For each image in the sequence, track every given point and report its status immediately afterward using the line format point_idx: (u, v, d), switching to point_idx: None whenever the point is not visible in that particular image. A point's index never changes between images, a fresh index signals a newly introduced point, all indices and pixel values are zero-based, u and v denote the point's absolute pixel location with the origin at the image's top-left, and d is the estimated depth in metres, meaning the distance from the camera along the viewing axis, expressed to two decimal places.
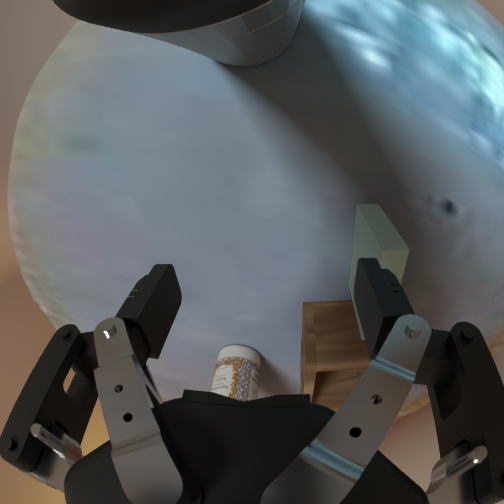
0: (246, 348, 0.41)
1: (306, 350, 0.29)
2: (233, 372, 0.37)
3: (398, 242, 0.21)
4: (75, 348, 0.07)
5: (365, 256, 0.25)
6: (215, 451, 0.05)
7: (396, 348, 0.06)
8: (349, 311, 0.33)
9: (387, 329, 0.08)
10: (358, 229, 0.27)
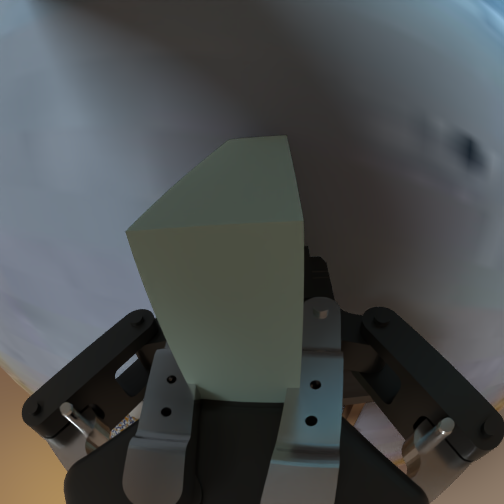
0: None
1: None
2: None
3: (258, 193, 0.04)
4: (151, 334, 0.08)
5: None
6: (215, 451, 0.05)
7: (311, 332, 0.07)
8: None
9: None
10: None
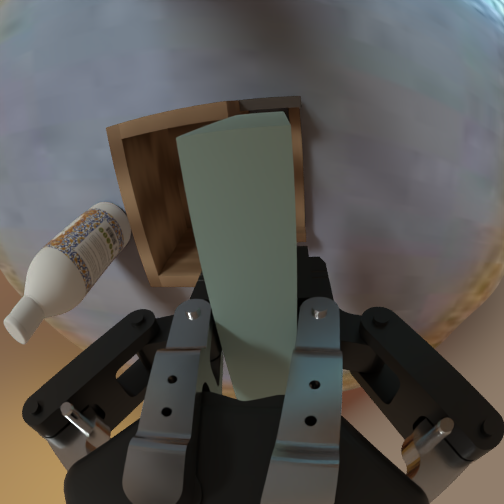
0: (110, 203, 0.30)
1: None
2: (80, 219, 0.26)
3: (262, 123, 0.06)
4: (153, 334, 0.08)
5: None
6: (215, 451, 0.05)
7: (310, 332, 0.07)
8: None
9: (299, 310, 0.09)
10: None
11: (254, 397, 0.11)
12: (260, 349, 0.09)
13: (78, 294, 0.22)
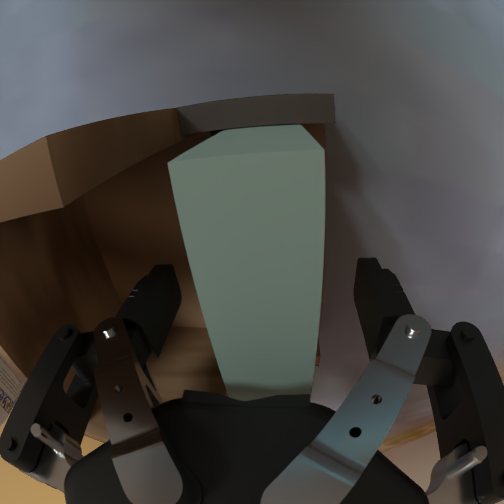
0: None
1: None
2: None
3: (280, 140, 0.05)
4: (75, 348, 0.07)
5: None
6: (215, 451, 0.05)
7: (396, 348, 0.06)
8: None
9: (387, 329, 0.08)
10: None
11: None
12: None
13: None
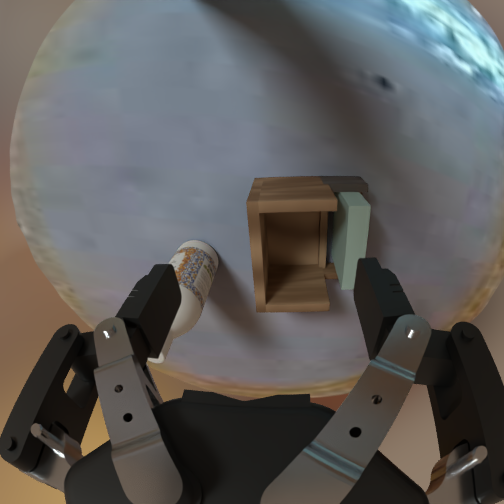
0: (202, 242, 0.41)
1: (249, 195, 0.30)
2: (184, 256, 0.37)
3: (362, 202, 0.29)
4: (75, 348, 0.07)
5: (340, 219, 0.33)
6: (215, 451, 0.05)
7: (396, 348, 0.06)
8: (300, 180, 0.34)
9: (387, 329, 0.08)
10: None
11: (348, 284, 0.33)
12: (355, 260, 0.31)
13: (196, 319, 0.33)
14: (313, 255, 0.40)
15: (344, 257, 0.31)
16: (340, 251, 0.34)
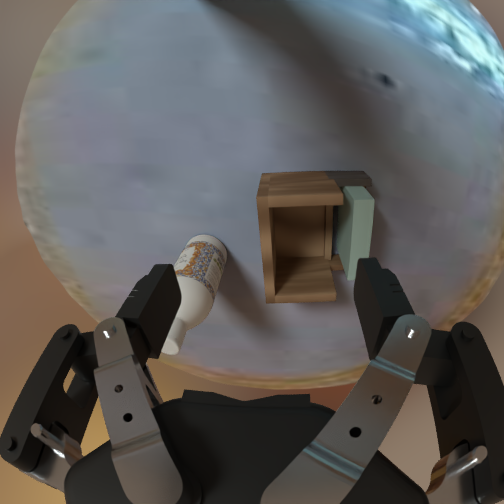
0: (211, 236, 0.43)
1: (258, 191, 0.31)
2: (194, 251, 0.38)
3: (366, 196, 0.30)
4: (75, 348, 0.07)
5: (345, 213, 0.34)
6: (215, 451, 0.05)
7: (396, 348, 0.06)
8: (306, 175, 0.35)
9: (387, 329, 0.08)
10: None
11: (353, 275, 0.34)
12: (360, 252, 0.32)
13: (208, 311, 0.34)
14: (319, 247, 0.42)
15: (350, 249, 0.33)
16: (345, 243, 0.35)
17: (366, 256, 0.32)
